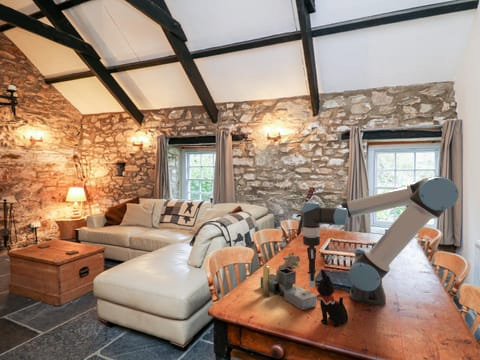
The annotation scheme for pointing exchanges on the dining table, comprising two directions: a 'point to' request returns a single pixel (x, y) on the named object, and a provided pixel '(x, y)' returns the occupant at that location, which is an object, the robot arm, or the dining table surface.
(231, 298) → the dining table surface
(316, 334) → the dining table surface
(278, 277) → the hinge base
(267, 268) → the pin
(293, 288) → the grey flat block
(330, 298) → the figurine
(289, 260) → the vertebra
